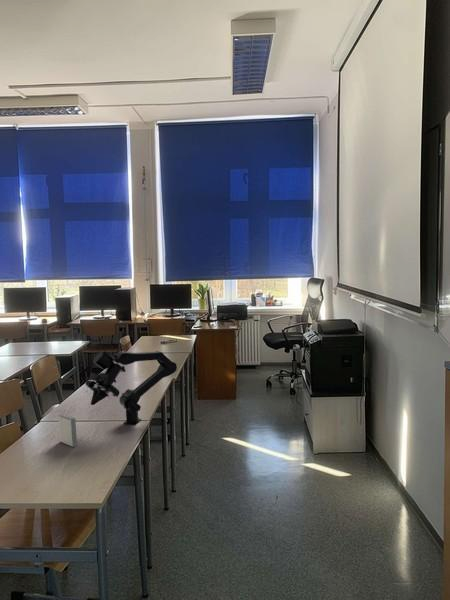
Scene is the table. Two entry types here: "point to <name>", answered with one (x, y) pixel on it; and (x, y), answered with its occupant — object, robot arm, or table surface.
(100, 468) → the table surface
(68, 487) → the table surface
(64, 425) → the grey tile
